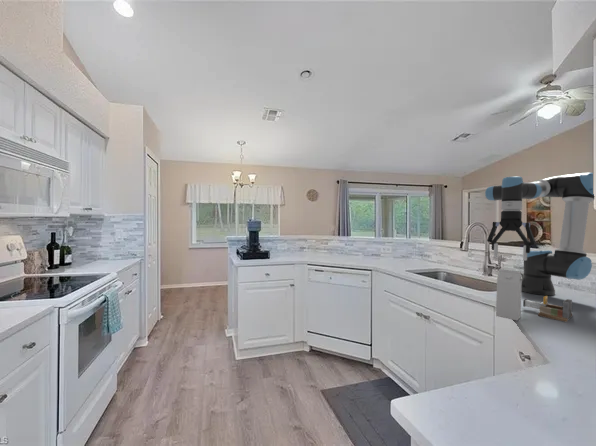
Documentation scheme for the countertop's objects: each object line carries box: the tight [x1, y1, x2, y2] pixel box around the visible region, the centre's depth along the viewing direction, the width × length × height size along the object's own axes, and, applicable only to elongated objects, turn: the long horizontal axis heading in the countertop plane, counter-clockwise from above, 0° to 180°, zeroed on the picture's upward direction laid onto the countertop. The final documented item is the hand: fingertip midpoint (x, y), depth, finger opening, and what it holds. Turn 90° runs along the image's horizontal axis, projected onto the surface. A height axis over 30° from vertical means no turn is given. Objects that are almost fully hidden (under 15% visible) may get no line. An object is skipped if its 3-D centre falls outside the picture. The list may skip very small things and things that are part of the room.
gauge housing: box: [537, 298, 573, 323], centre depth 115 cm, size 12×8×7 cm
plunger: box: [522, 295, 549, 311], centre depth 120 cm, size 4×8×6 cm, turn 37°
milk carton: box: [495, 268, 523, 321], centre depth 113 cm, size 7×7×19 cm
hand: (509, 258), depth 127 cm, fingers open, 10 cm apart
